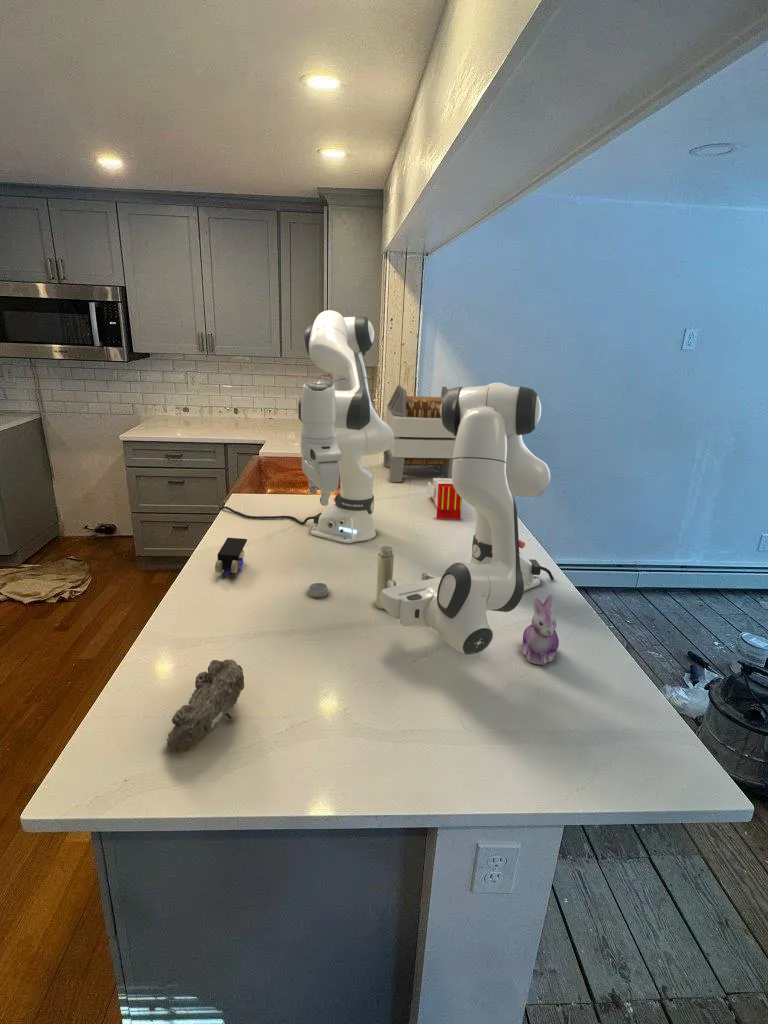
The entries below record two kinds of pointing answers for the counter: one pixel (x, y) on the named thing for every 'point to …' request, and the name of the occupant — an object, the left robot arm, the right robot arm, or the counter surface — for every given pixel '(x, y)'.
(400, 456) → the transformer
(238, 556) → the figurine character
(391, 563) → the beige cylinder
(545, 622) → the figurine
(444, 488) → the toy
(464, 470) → the right robot arm
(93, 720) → the counter surface
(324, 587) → the lid
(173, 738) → the fossil
